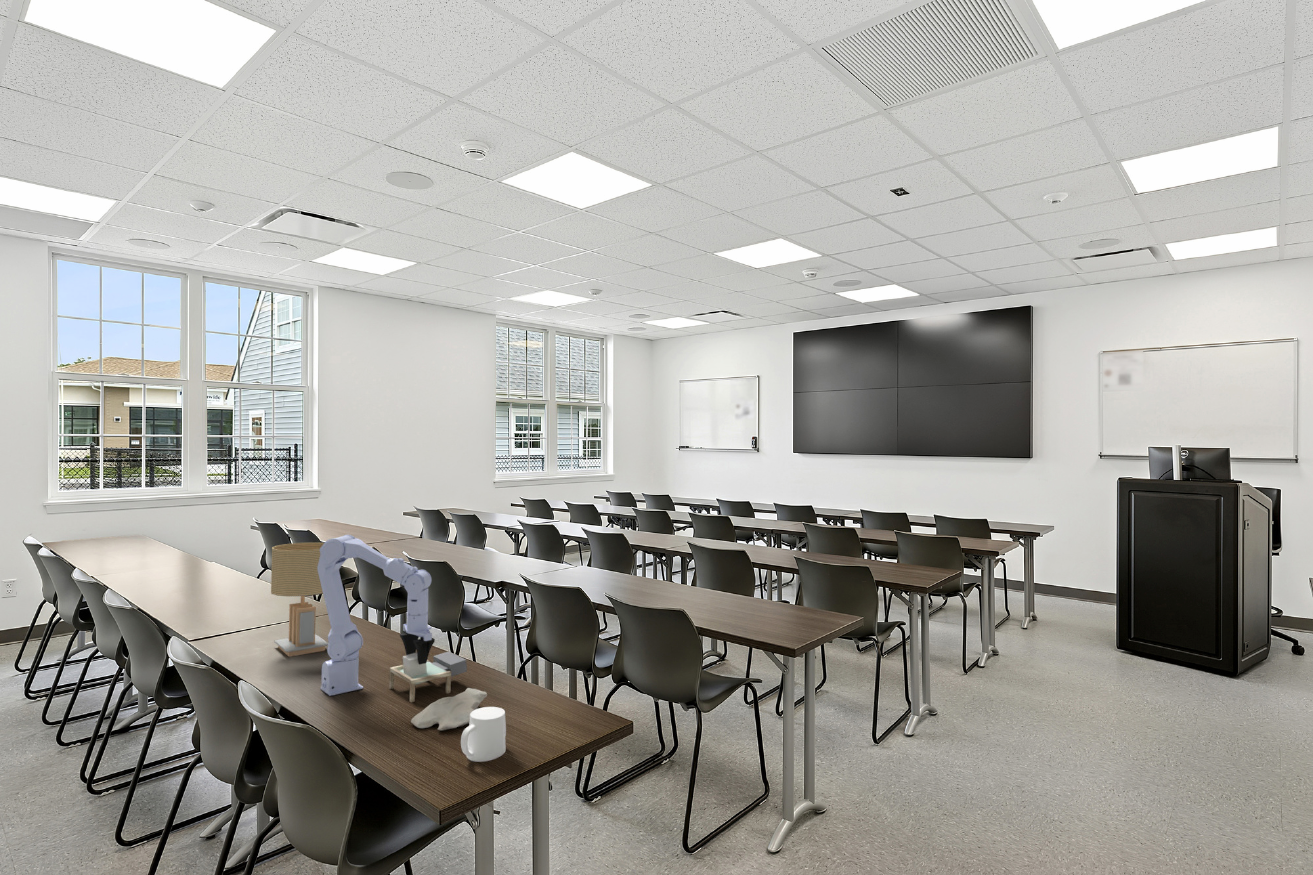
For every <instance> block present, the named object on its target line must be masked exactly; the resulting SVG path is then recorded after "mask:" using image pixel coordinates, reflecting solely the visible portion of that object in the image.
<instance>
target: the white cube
mask: <svg viewBox="0 0 1313 875" xmlns="http://www.w3.org/2000/svg"><path fill="white" fill-rule="evenodd" d="M402 665H403V670H404V674H406V675H408V676H409V677H411V678H412V677H415V676H418V675H421V674H424V673H427V666H426V663H425V664H418V658H417V651H416V653H413V654H410V655H406V654H405V655H403V656H402Z"/></svg>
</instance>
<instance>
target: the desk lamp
mask: <svg viewBox="0 0 1313 875" xmlns="http://www.w3.org/2000/svg"><path fill="white" fill-rule="evenodd" d="M324 543H325V542H295V543H287V544H286V543H285V544H279V545H275V546H272V547H271V572H270V573H271V579H270V580H271V581H270V583H271V584H270V593H271V595H274V596H277V597H279V596H280V597H300V602H296V603H290V604H289V609H288V611H289V613H288V637H287V638H280V639H275V640H274V643H275V644H276V645H277V646H278V649H279V650H280V651H282V652H283V653H284V654H285V655H286V656H288V657H289V658H290V657H294V656H301V655H306V654H312V653H319V652H325V651H326V646H327V647H328V641H326V640H325V639H323V638H322V637H320V636H319V635H317V634H316V621H317V619H316V618H317V616H316V615H317V614H316V613H317V612H316V611H317V607H316V606H313V604H312V603H309V602H308V601H306V600H305V598H306V596H316V595H321V594H323V591H322V587H321V582H320V578H319V574H318V569H317V567H318V563H319V559H320V555H321V554H320V550H319V549H320V548H321V547H322V545H323V544H324Z"/></svg>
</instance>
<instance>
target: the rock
mask: <svg viewBox="0 0 1313 875" xmlns="http://www.w3.org/2000/svg"><path fill="white" fill-rule="evenodd" d="M487 696H488V694H487V692H486V691H482V690H480V689H477V688H471V687H467V688H466V689H465V691H463V692H462V691H461V692H460V693H458V694H456V695H454V696H447V697H442V698H439V699H437V700H436V701H434V702H432V703H430V704H429V705H427V706H426V707H425V708H424V709H423V710H422V711H420V712H419V713H417V714H415V716H413V717H412V719H411V720H410V722H411V724H412V725H414V727H416V728H418V729H425V728H427V729H428V728H431V727H432V726H433V725H437V724H438V728H437V731H446V730H450V729H457V727H458V728H459V727H463V726H466V725H468V724H469V722H470V713H471V712H472V711H474V710H476V709H479V706H480V704H481V703H482V702H483V700H484V699H485V698H487Z"/></svg>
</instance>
